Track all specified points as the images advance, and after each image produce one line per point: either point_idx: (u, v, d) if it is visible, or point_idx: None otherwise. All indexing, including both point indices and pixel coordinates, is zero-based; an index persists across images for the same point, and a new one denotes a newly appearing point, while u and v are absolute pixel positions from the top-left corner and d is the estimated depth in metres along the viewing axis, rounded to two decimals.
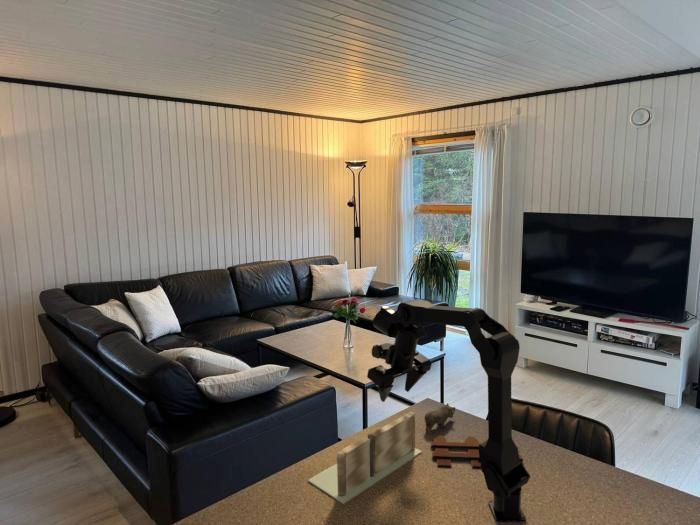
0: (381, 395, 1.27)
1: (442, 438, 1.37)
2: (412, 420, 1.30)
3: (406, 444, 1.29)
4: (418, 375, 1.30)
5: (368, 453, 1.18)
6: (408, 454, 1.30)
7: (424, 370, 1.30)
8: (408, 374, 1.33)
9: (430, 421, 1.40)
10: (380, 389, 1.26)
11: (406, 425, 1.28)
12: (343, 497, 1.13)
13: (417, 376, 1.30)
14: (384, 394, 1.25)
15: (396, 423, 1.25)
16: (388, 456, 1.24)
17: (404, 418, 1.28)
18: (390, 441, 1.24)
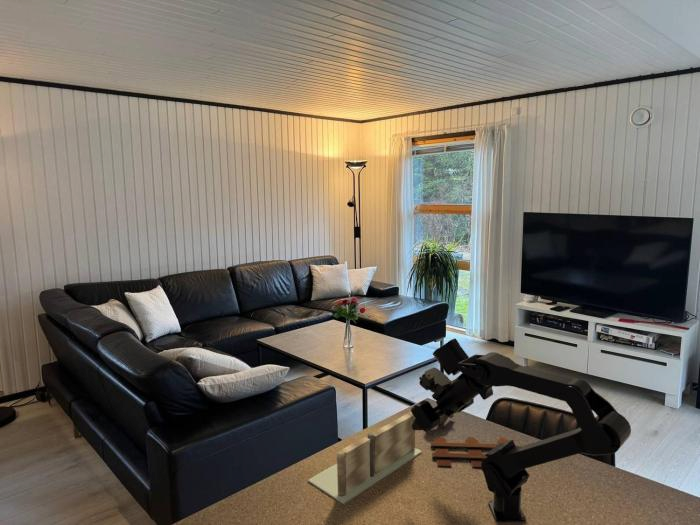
0: (415, 425, 1.16)
1: (442, 439, 1.37)
2: (412, 420, 1.30)
3: (406, 444, 1.29)
4: (456, 410, 1.20)
5: (368, 453, 1.18)
6: (408, 454, 1.30)
7: (465, 408, 1.19)
8: None
9: None
10: (417, 421, 1.15)
11: (406, 425, 1.28)
12: (343, 497, 1.13)
13: None
14: (420, 428, 1.14)
15: (396, 423, 1.25)
16: (388, 456, 1.24)
17: (404, 418, 1.28)
18: (390, 441, 1.24)
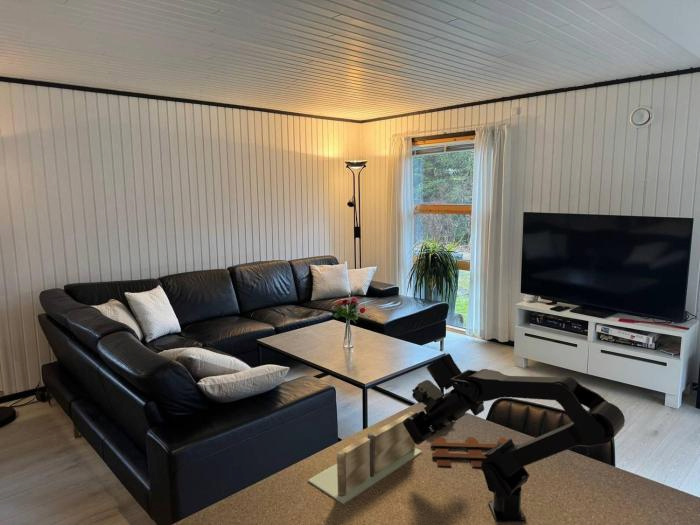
0: None
1: (442, 439, 1.37)
2: None
3: (406, 444, 1.29)
4: (437, 429, 1.19)
5: (368, 453, 1.18)
6: (408, 454, 1.30)
7: None
8: None
9: None
10: None
11: None
12: (343, 497, 1.13)
13: None
14: None
15: (396, 423, 1.25)
16: (388, 456, 1.24)
17: (404, 418, 1.28)
18: (390, 441, 1.24)
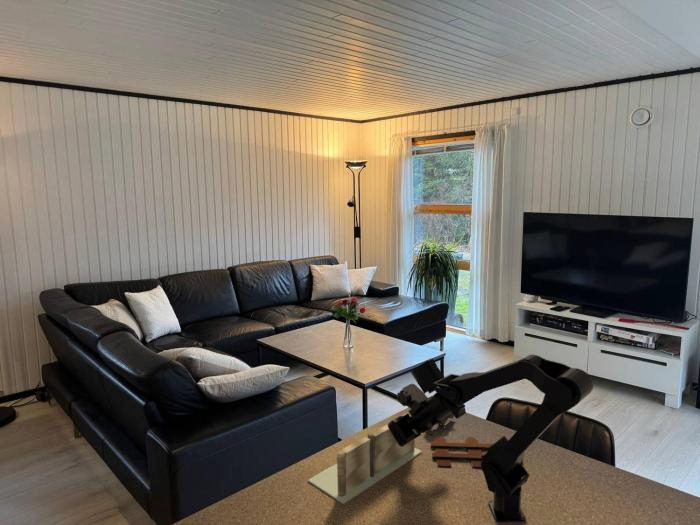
0: None
1: (442, 439, 1.37)
2: None
3: (406, 444, 1.29)
4: (422, 431, 1.23)
5: (368, 453, 1.18)
6: (408, 454, 1.30)
7: None
8: None
9: None
10: None
11: None
12: (343, 497, 1.13)
13: (420, 431, 1.23)
14: None
15: None
16: (388, 456, 1.24)
17: None
18: (389, 441, 1.24)
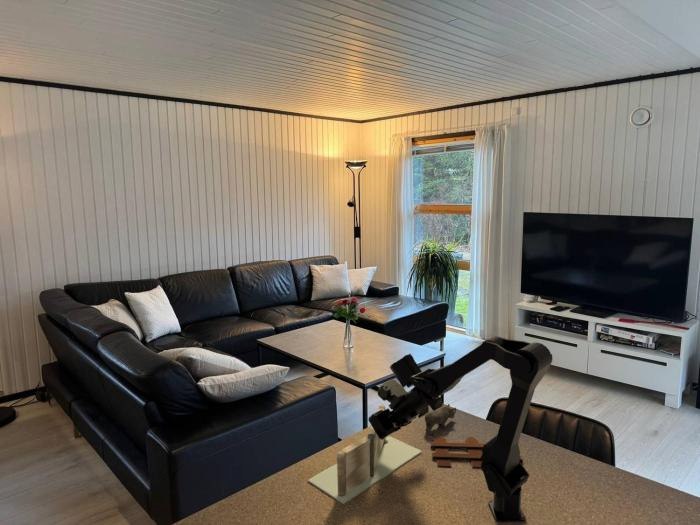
0: None
1: (442, 438, 1.37)
2: None
3: None
4: (402, 425, 1.27)
5: (368, 453, 1.18)
6: (408, 454, 1.30)
7: None
8: None
9: (430, 421, 1.40)
10: None
11: None
12: (343, 497, 1.13)
13: (401, 425, 1.27)
14: None
15: None
16: (377, 452, 1.26)
17: None
18: (378, 437, 1.26)
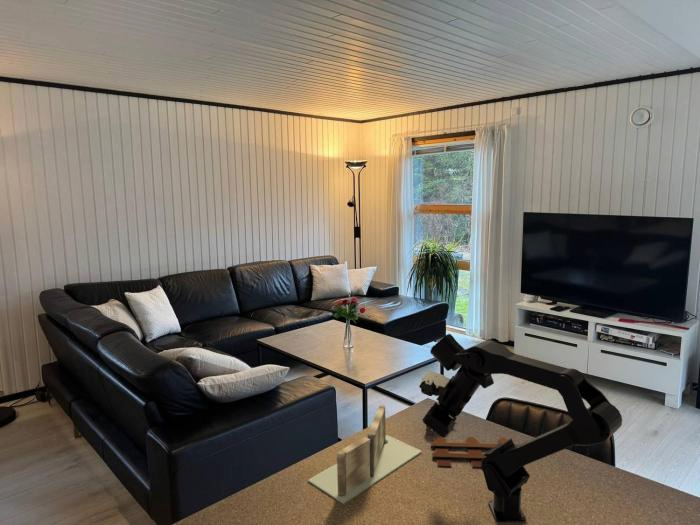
0: None
1: (442, 438, 1.37)
2: (384, 413, 1.34)
3: (382, 437, 1.33)
4: (455, 414, 1.16)
5: (368, 453, 1.18)
6: (408, 454, 1.30)
7: None
8: None
9: None
10: None
11: (382, 419, 1.32)
12: (343, 497, 1.13)
13: None
14: None
15: (379, 418, 1.28)
16: (377, 452, 1.26)
17: (380, 412, 1.31)
18: (378, 437, 1.26)
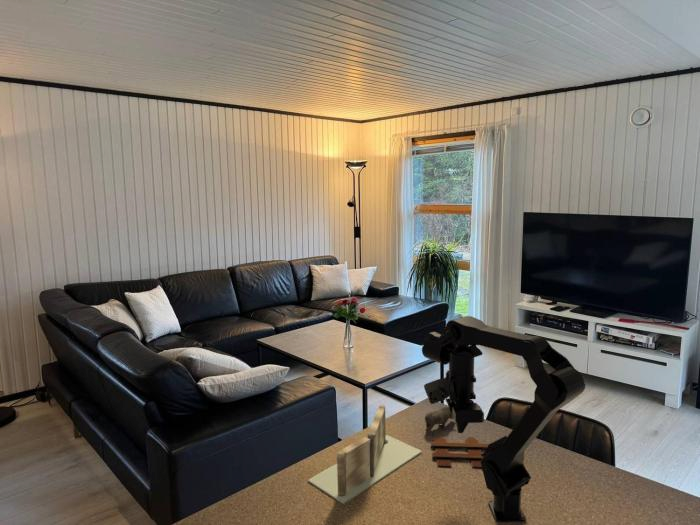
0: (461, 426, 1.15)
1: (442, 439, 1.37)
2: (384, 413, 1.34)
3: (382, 437, 1.33)
4: None
5: (368, 453, 1.18)
6: (408, 454, 1.30)
7: None
8: None
9: (430, 422, 1.40)
10: None
11: (382, 419, 1.32)
12: (343, 497, 1.13)
13: None
14: None
15: (379, 418, 1.28)
16: (377, 452, 1.26)
17: (380, 412, 1.31)
18: (378, 437, 1.26)
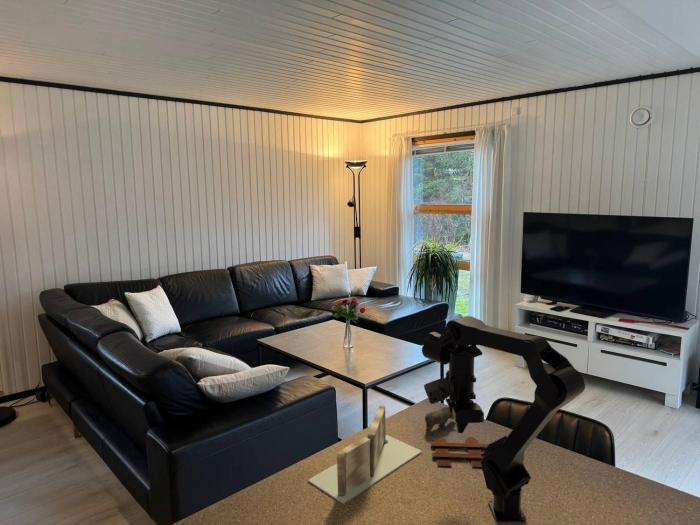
0: (461, 426, 1.15)
1: (442, 438, 1.37)
2: (384, 413, 1.34)
3: (382, 437, 1.33)
4: None
5: (368, 453, 1.18)
6: (408, 454, 1.30)
7: None
8: None
9: (430, 422, 1.40)
10: None
11: (382, 419, 1.32)
12: (343, 497, 1.13)
13: None
14: None
15: (379, 418, 1.28)
16: (377, 452, 1.26)
17: (380, 412, 1.31)
18: (378, 437, 1.26)
